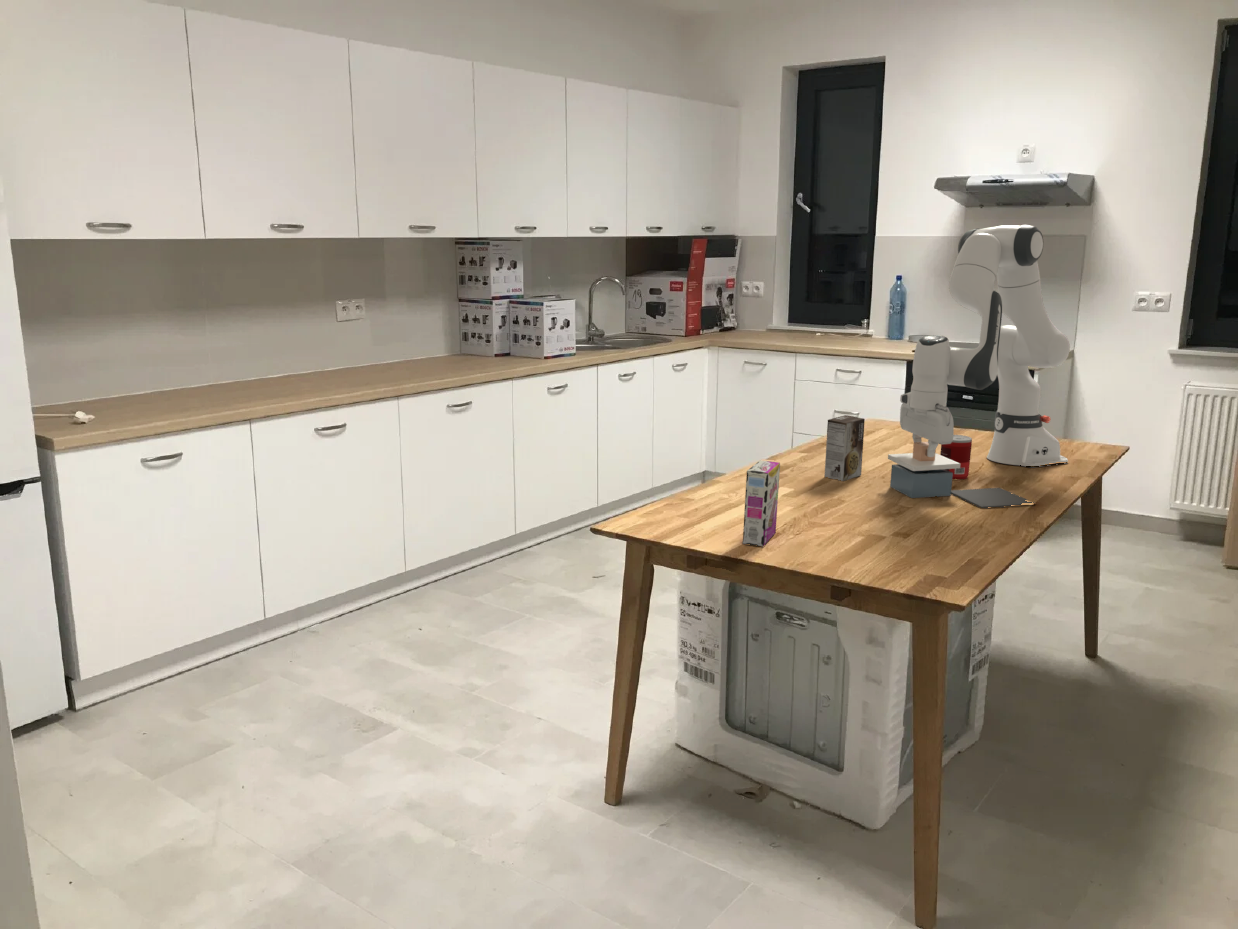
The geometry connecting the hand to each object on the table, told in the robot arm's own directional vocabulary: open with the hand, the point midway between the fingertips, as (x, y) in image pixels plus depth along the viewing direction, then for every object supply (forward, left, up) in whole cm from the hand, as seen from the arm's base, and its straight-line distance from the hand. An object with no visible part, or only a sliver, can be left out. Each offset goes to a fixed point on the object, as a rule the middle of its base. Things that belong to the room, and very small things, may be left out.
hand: (924, 453), depth 247 cm
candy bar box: (+55, +29, -10) cm, 63 cm away
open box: (0, 0, -10) cm, 10 cm away
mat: (-14, +10, -10) cm, 20 cm away
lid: (0, 0, -3) cm, 2 cm away
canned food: (-17, -12, -10) cm, 23 cm away
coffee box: (+13, -18, -10) cm, 24 cm away
